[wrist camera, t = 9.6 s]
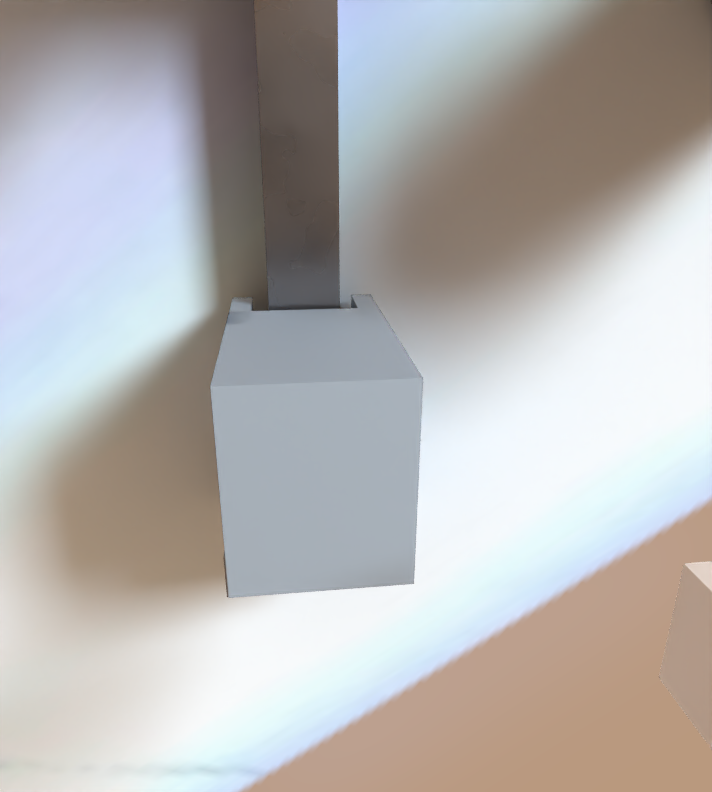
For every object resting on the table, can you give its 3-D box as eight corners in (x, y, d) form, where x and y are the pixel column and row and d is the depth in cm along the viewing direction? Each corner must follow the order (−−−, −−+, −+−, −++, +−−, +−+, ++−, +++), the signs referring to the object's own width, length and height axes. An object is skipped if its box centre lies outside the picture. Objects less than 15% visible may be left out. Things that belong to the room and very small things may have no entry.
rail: (250, -98, 20) (247, -130, 17) (329, -95, 20) (336, -125, 18) (277, 459, 27) (277, 489, 24) (334, 455, 27) (340, 485, 25)
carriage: (232, 297, 23) (210, 386, 15) (370, 294, 24) (422, 378, 15) (243, 447, 25) (228, 597, 17) (368, 441, 26) (413, 583, 18)
